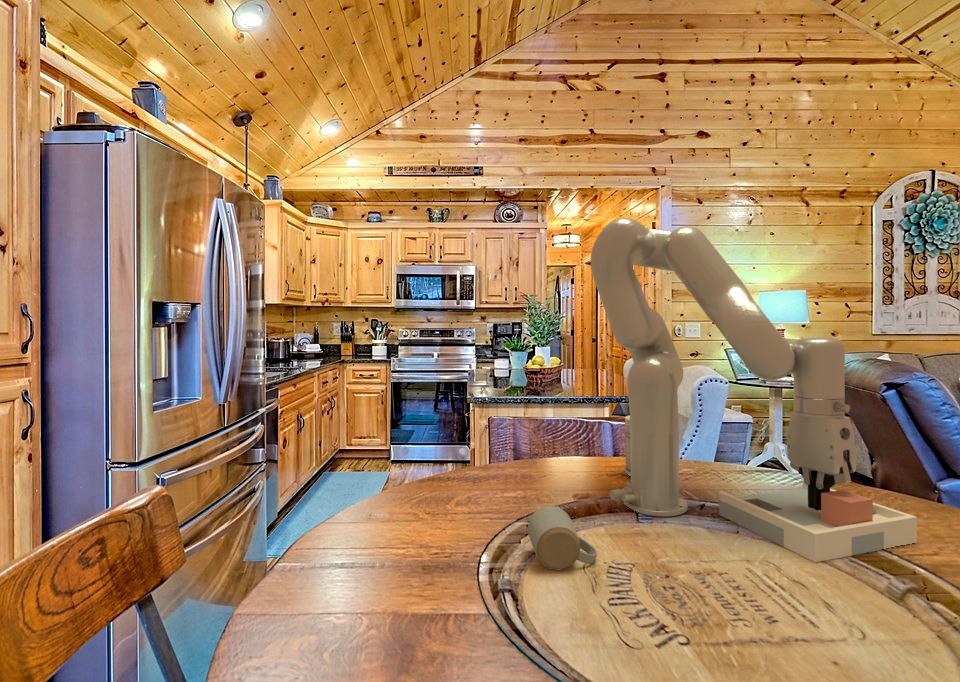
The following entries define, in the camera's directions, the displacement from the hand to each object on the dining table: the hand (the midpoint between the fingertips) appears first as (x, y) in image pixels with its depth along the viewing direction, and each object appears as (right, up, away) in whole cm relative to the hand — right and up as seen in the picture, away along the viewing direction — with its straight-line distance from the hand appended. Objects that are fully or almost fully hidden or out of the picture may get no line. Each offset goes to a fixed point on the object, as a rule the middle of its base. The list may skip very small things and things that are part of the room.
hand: (818, 507), depth 88 cm
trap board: (0, -4, +2) cm, 4 cm away
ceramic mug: (-48, -6, -9) cm, 49 cm away
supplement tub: (-20, -4, +34) cm, 39 cm away
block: (+1, -1, -5) cm, 5 cm away
